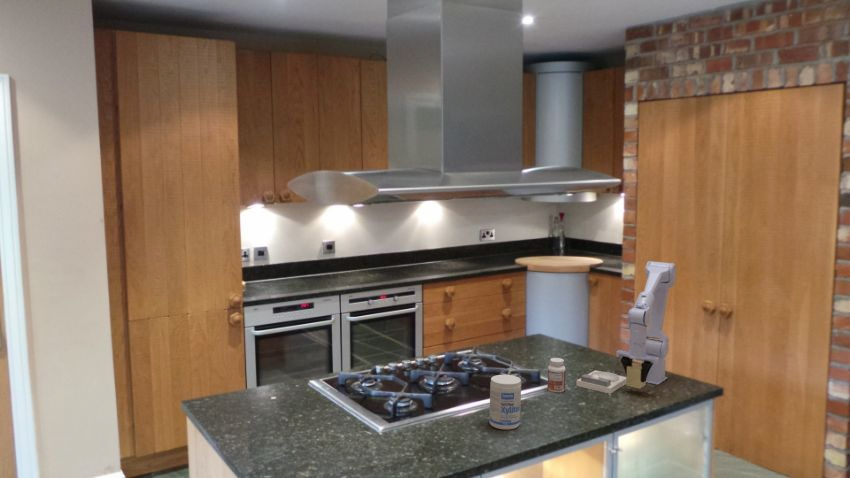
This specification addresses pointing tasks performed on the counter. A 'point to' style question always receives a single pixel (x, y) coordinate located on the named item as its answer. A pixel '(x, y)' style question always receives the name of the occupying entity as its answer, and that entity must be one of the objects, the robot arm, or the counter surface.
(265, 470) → the counter surface
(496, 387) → the supplement tub
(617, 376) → the kitchen scale
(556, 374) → the pill bottle
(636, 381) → the block
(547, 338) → the counter surface
